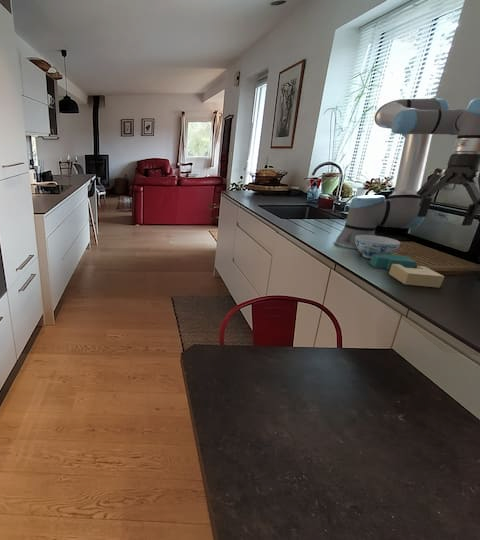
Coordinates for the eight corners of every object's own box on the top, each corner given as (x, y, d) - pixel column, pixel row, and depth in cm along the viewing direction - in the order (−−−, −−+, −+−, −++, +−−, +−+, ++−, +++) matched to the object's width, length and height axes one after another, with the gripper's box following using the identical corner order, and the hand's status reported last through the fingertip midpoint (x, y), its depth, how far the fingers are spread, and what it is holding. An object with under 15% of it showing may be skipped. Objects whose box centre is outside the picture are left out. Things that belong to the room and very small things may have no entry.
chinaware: (373, 263, 127) (379, 244, 125) (341, 252, 141) (346, 235, 139) (404, 262, 130) (410, 243, 128) (370, 251, 144) (375, 234, 142)
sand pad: (388, 274, 117) (392, 263, 115) (420, 277, 114) (424, 266, 113) (404, 284, 107) (408, 273, 106) (440, 287, 105) (444, 276, 104)
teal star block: (400, 265, 126) (403, 255, 125) (412, 272, 119) (416, 262, 118) (367, 262, 129) (370, 252, 127) (377, 269, 121) (380, 259, 120)
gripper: (417, 152, 112) (397, 213, 119) (510, 153, 89) (478, 229, 96) (434, 152, 113) (413, 213, 121) (531, 154, 90) (498, 229, 98)
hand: (442, 220), depth 108 cm, fingers open, 13 cm apart
